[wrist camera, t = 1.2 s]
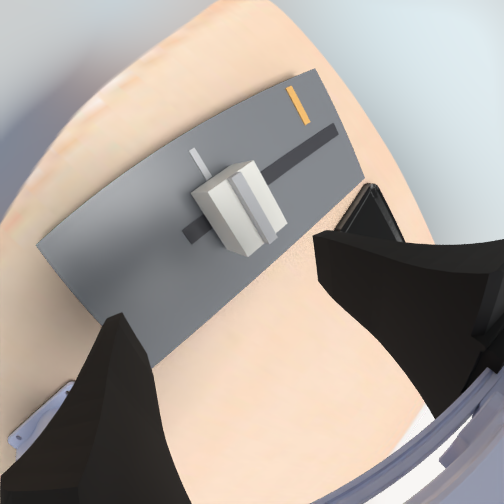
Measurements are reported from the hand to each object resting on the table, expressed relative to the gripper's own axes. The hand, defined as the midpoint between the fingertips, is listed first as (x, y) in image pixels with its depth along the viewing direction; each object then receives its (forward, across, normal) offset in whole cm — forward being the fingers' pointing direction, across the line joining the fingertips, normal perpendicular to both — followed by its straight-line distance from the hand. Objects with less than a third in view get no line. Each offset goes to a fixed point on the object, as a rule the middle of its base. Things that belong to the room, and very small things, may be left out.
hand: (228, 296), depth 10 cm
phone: (+13, -18, +12) cm, 25 cm away
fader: (+8, -3, 0) cm, 8 cm away
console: (+11, -3, 0) cm, 11 cm away
